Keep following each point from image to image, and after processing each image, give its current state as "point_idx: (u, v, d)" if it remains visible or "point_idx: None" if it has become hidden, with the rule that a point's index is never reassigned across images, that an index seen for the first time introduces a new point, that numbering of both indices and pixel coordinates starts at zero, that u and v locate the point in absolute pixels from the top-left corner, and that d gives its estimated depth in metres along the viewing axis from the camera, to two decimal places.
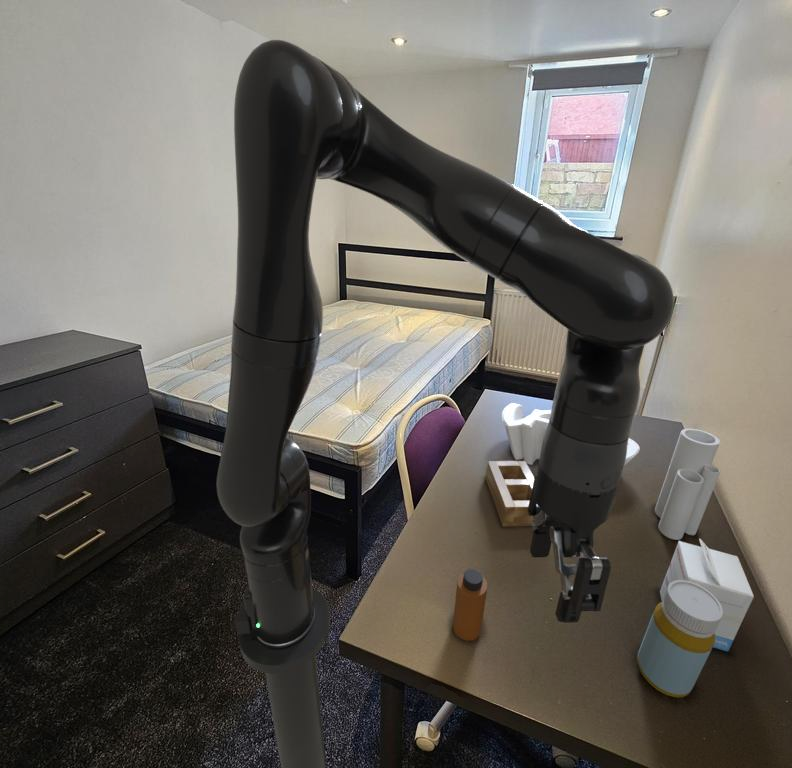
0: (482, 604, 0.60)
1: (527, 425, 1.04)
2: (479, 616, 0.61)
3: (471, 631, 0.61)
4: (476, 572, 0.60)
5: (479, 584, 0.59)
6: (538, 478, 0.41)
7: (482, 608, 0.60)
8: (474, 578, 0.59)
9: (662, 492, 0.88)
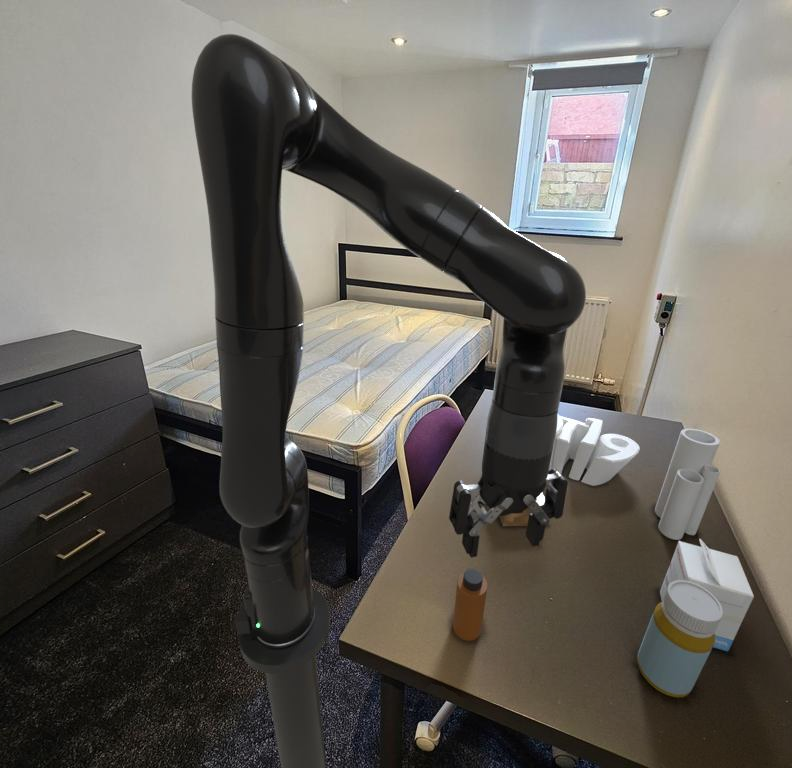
0: (482, 604, 0.60)
1: None
2: (479, 616, 0.61)
3: (471, 631, 0.61)
4: (476, 572, 0.60)
5: (479, 584, 0.59)
6: None
7: (482, 608, 0.60)
8: (474, 578, 0.59)
9: (662, 492, 0.88)
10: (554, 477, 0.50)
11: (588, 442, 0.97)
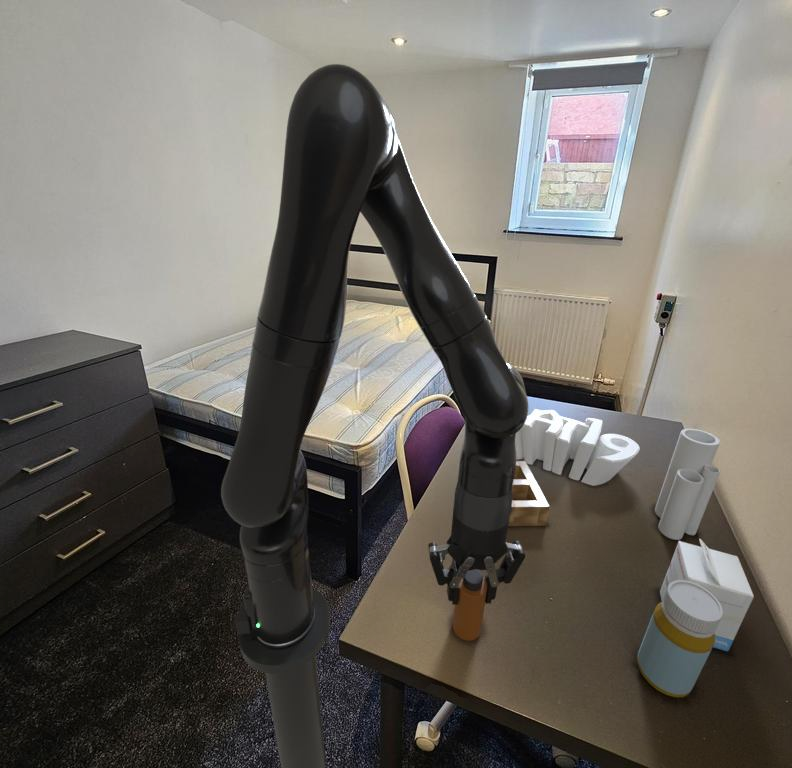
0: (482, 604, 0.60)
1: (527, 425, 1.04)
2: (479, 616, 0.61)
3: (471, 631, 0.61)
4: (476, 572, 0.60)
5: (479, 584, 0.59)
6: None
7: (482, 608, 0.60)
8: (474, 578, 0.59)
9: (662, 492, 0.88)
10: (516, 548, 0.58)
11: (588, 442, 0.97)
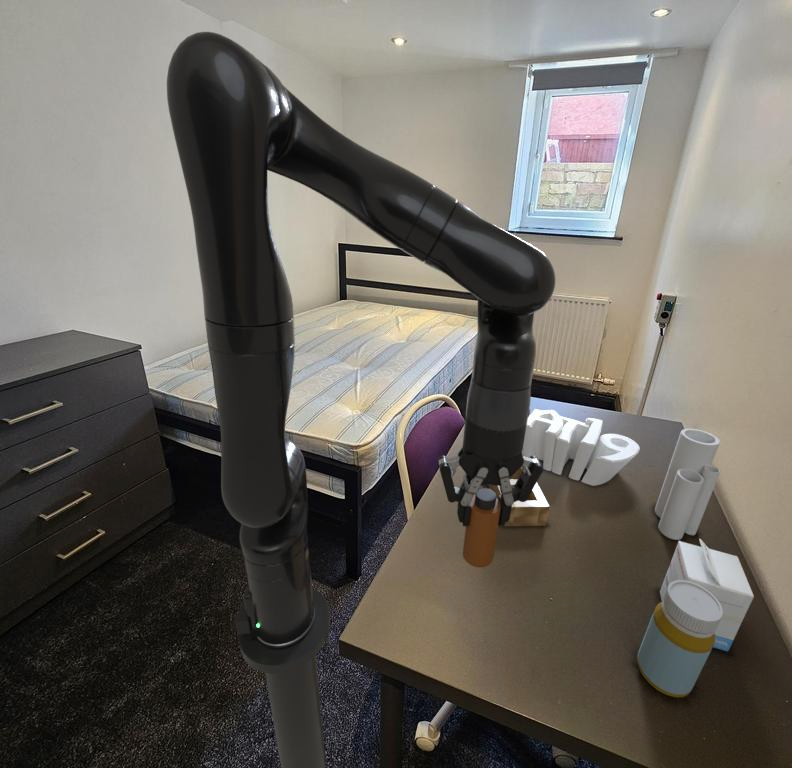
0: (495, 525, 0.56)
1: (527, 425, 1.04)
2: (492, 539, 0.56)
3: (483, 556, 0.57)
4: (489, 491, 0.56)
5: (492, 502, 0.55)
6: None
7: (495, 530, 0.56)
8: (487, 496, 0.55)
9: (662, 492, 0.88)
10: (533, 461, 0.53)
11: (588, 442, 0.97)
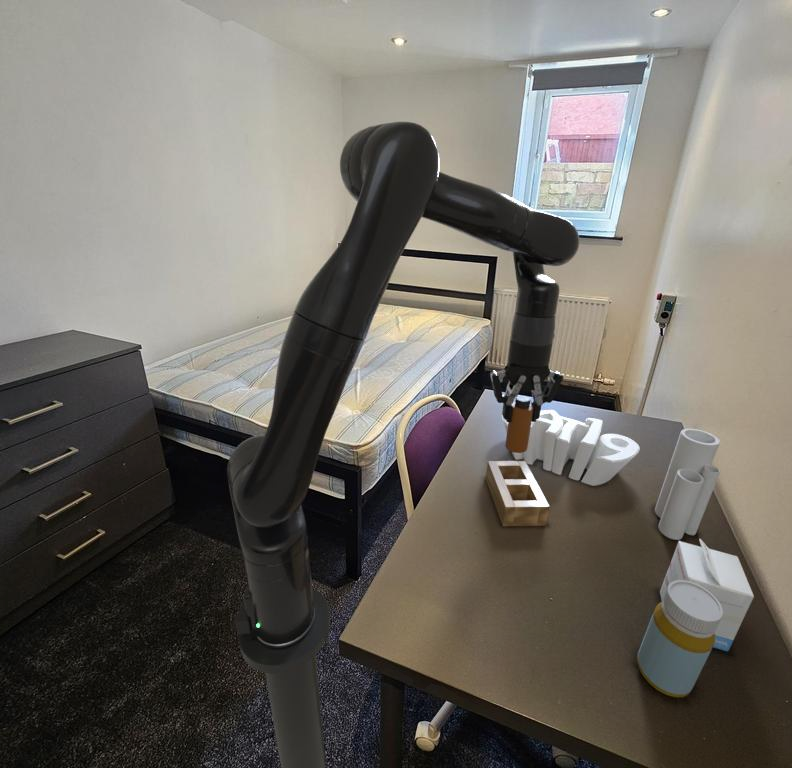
0: (530, 420, 0.80)
1: None
2: (527, 430, 0.80)
3: (521, 444, 0.81)
4: (525, 397, 0.80)
5: (528, 402, 0.79)
6: None
7: (529, 424, 0.80)
8: (524, 399, 0.79)
9: (662, 492, 0.88)
10: (556, 373, 0.77)
11: (588, 442, 0.97)
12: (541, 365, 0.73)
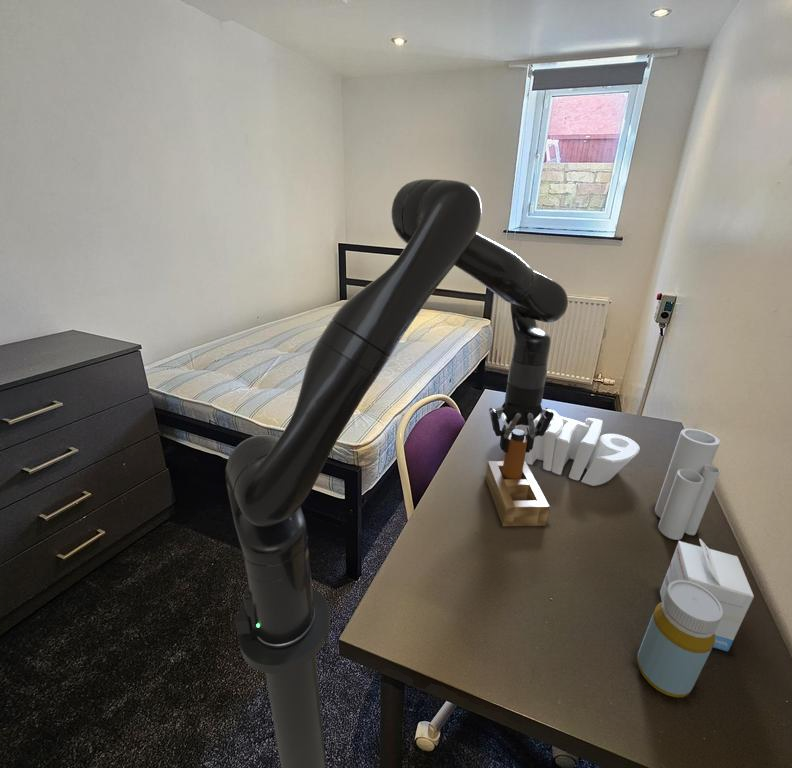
0: (524, 451, 0.90)
1: None
2: (522, 460, 0.91)
3: (516, 471, 0.91)
4: (520, 430, 0.90)
5: (522, 436, 0.89)
6: None
7: (524, 454, 0.90)
8: (519, 433, 0.89)
9: (662, 492, 0.88)
10: (547, 410, 0.88)
11: (588, 442, 0.97)
12: (534, 405, 0.83)
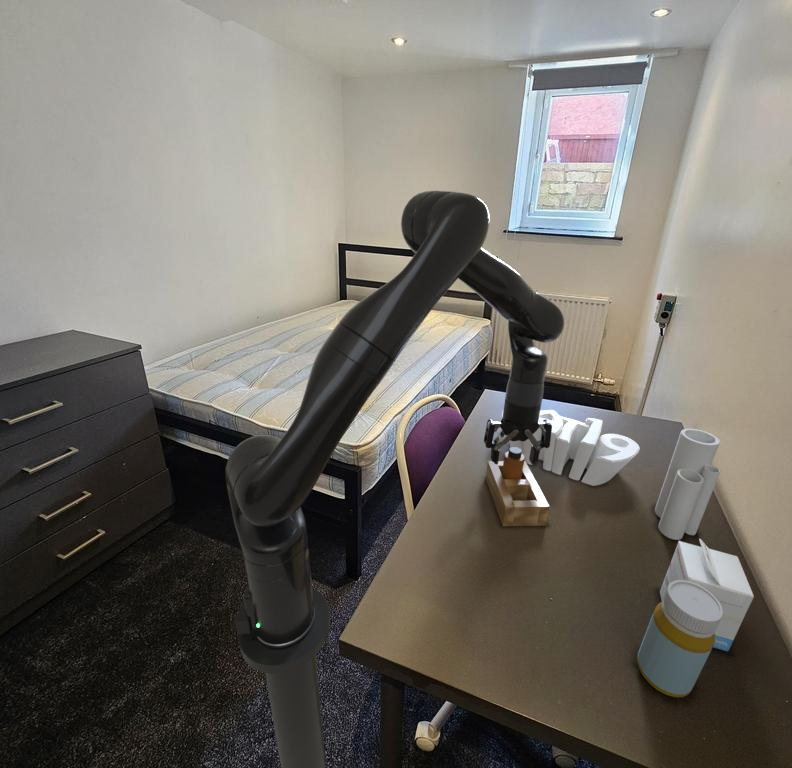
0: (521, 468, 0.92)
1: None
2: (519, 477, 0.93)
3: None
4: (517, 448, 0.92)
5: (519, 454, 0.91)
6: None
7: (521, 472, 0.92)
8: (516, 451, 0.91)
9: (662, 492, 0.88)
10: (544, 423, 0.89)
11: (588, 442, 0.97)
12: (531, 422, 0.85)
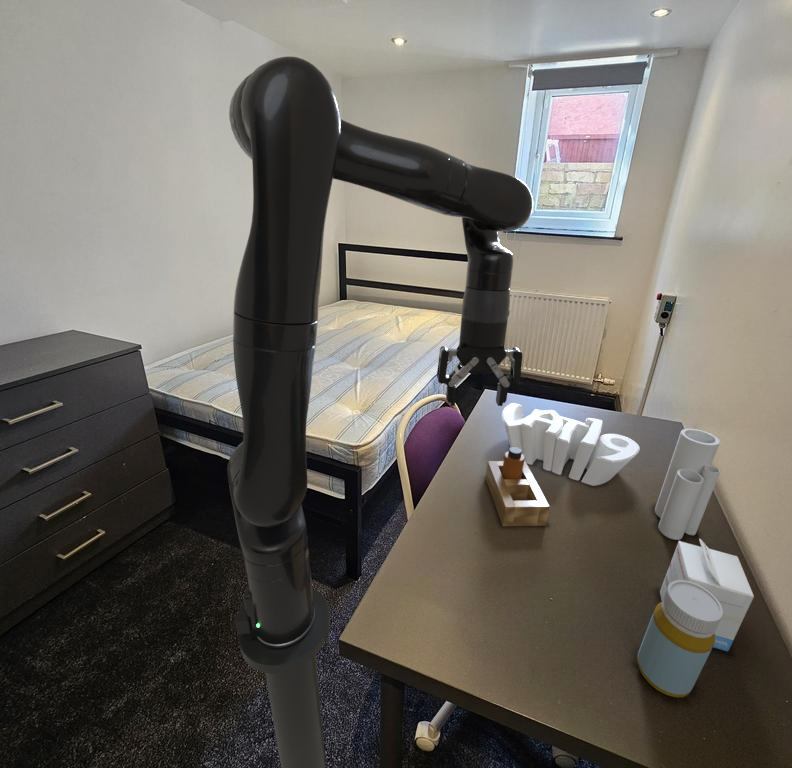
0: (521, 468, 0.92)
1: (527, 425, 1.04)
2: (519, 477, 0.93)
3: None
4: (517, 448, 0.92)
5: (519, 454, 0.91)
6: None
7: (521, 472, 0.92)
8: (516, 451, 0.91)
9: (662, 492, 0.88)
10: (513, 350, 0.70)
11: (588, 442, 0.97)
12: (494, 345, 0.65)
